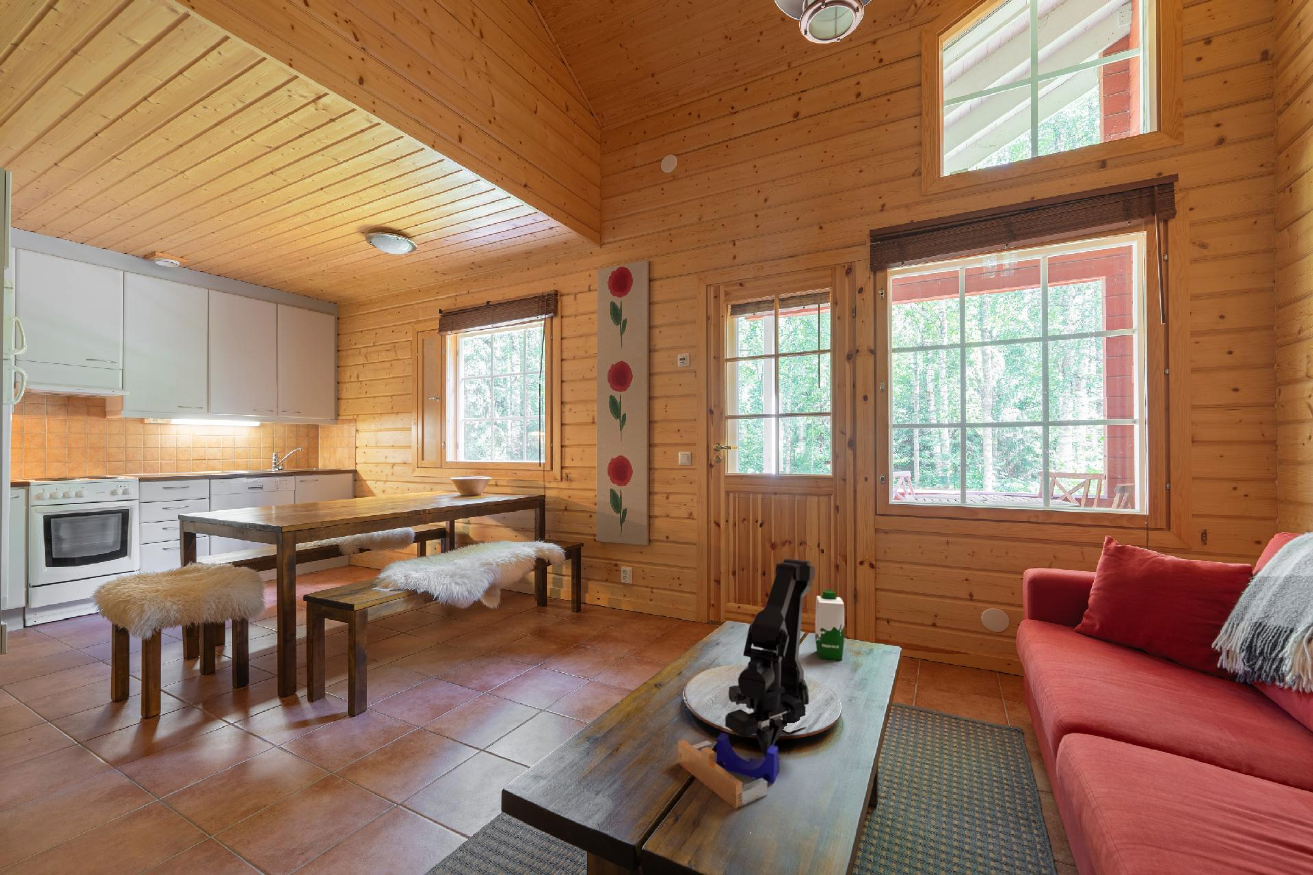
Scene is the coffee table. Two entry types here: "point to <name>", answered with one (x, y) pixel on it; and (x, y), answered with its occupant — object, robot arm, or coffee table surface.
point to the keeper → (718, 774)
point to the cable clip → (752, 768)
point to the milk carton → (829, 626)
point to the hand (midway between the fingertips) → (765, 754)
